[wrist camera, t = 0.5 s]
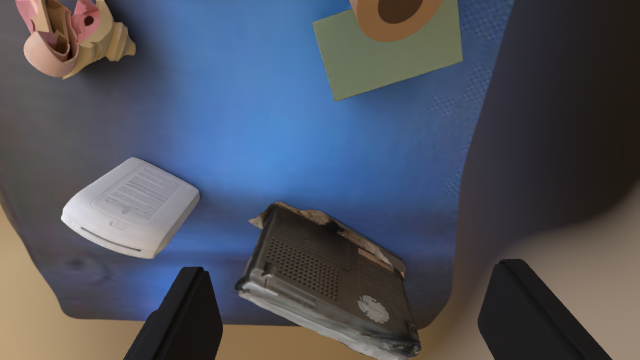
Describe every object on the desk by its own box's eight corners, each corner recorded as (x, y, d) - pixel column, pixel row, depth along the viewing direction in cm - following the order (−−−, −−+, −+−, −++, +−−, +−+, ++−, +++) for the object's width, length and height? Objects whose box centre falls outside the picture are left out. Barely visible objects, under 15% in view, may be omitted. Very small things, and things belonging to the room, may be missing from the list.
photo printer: (120, 176, 39) (43, 233, 28) (129, 150, 38) (52, 200, 27) (193, 211, 42) (149, 276, 31) (205, 188, 40) (163, 248, 29)
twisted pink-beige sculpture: (150, -1, 31) (138, 77, 28) (123, 50, 37) (111, 118, 34) (27, -68, 24) (-4, 24, 22) (21, 8, 31) (-4, 87, 28)
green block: (313, 23, 31) (311, 22, 25) (426, -17, 30) (455, -29, 24) (331, 88, 35) (334, 102, 28) (435, 55, 33) (463, 61, 27)
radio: (247, 220, 43) (215, 307, 30) (280, 177, 40) (262, 253, 26) (368, 291, 49) (386, 387, 36) (405, 259, 46) (440, 351, 33)
